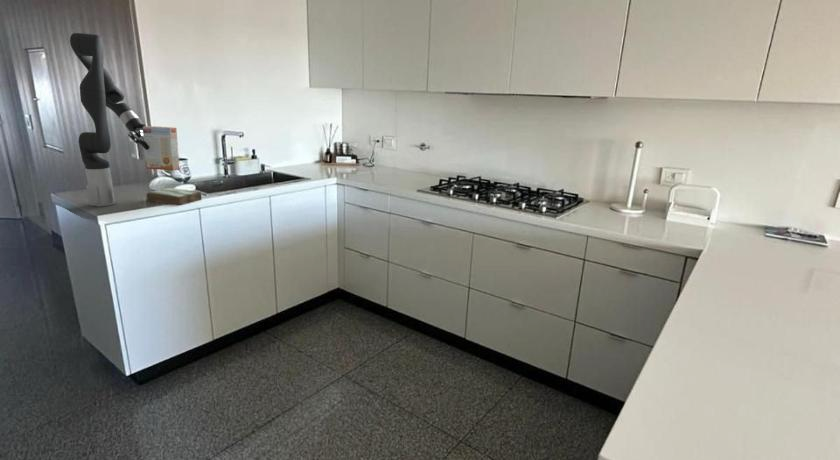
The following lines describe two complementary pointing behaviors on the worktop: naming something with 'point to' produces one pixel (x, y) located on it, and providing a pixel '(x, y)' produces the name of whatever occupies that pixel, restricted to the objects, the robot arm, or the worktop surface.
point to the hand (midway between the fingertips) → (154, 148)
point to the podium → (173, 196)
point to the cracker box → (161, 148)
